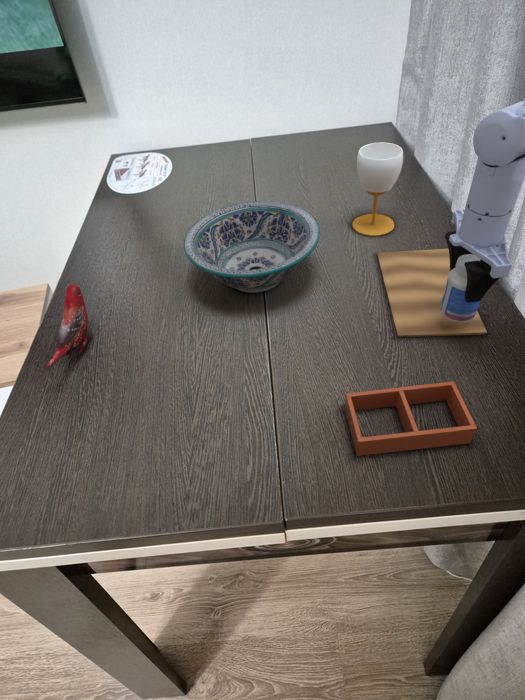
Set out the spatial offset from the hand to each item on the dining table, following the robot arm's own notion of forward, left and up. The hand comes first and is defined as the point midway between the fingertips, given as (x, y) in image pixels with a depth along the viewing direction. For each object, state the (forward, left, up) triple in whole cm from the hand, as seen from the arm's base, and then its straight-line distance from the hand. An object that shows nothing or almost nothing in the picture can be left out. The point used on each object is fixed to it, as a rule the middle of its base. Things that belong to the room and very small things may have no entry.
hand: (464, 288), depth 67 cm
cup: (+23, -26, -8) cm, 35 cm away
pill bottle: (0, 0, -5) cm, 5 cm away
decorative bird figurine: (+55, +32, -8) cm, 64 cm away
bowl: (+38, 0, -8) cm, 38 cm away
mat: (+7, -8, -8) cm, 13 cm away
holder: (+2, +22, -8) cm, 24 cm away
